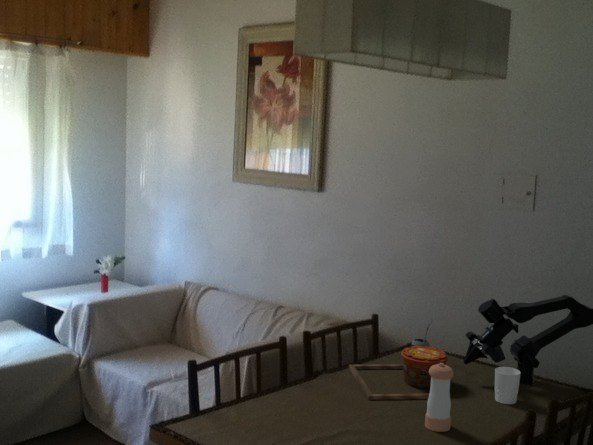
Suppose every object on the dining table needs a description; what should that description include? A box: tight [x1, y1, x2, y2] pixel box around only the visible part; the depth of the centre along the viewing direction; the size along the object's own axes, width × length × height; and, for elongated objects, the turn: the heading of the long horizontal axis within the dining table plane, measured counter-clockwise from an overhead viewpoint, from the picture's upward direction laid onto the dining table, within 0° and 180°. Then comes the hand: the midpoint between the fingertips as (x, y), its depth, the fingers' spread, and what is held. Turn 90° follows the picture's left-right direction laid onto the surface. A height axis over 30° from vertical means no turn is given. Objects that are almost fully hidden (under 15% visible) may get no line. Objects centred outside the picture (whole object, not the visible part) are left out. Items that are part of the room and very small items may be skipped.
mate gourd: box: [410, 320, 433, 348], centre depth 262 cm, size 8×8×15 cm
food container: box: [400, 346, 449, 390], centre depth 239 cm, size 16×16×11 cm
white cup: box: [494, 366, 521, 405], centre depth 226 cm, size 8×8×10 cm
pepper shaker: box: [424, 363, 455, 433], centre depth 203 cm, size 7×7×19 cm
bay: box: [348, 363, 430, 401], centre depth 239 cm, size 26×30×1 cm
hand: (464, 363), depth 241 cm, fingers closed
